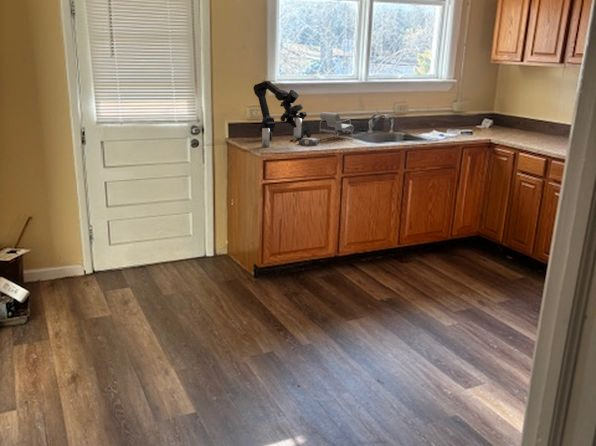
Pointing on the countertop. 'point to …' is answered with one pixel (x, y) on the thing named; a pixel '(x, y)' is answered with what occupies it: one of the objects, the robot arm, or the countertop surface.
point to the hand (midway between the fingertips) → (299, 127)
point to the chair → (335, 123)
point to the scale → (309, 141)
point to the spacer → (265, 137)
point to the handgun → (305, 131)
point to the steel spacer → (298, 129)
